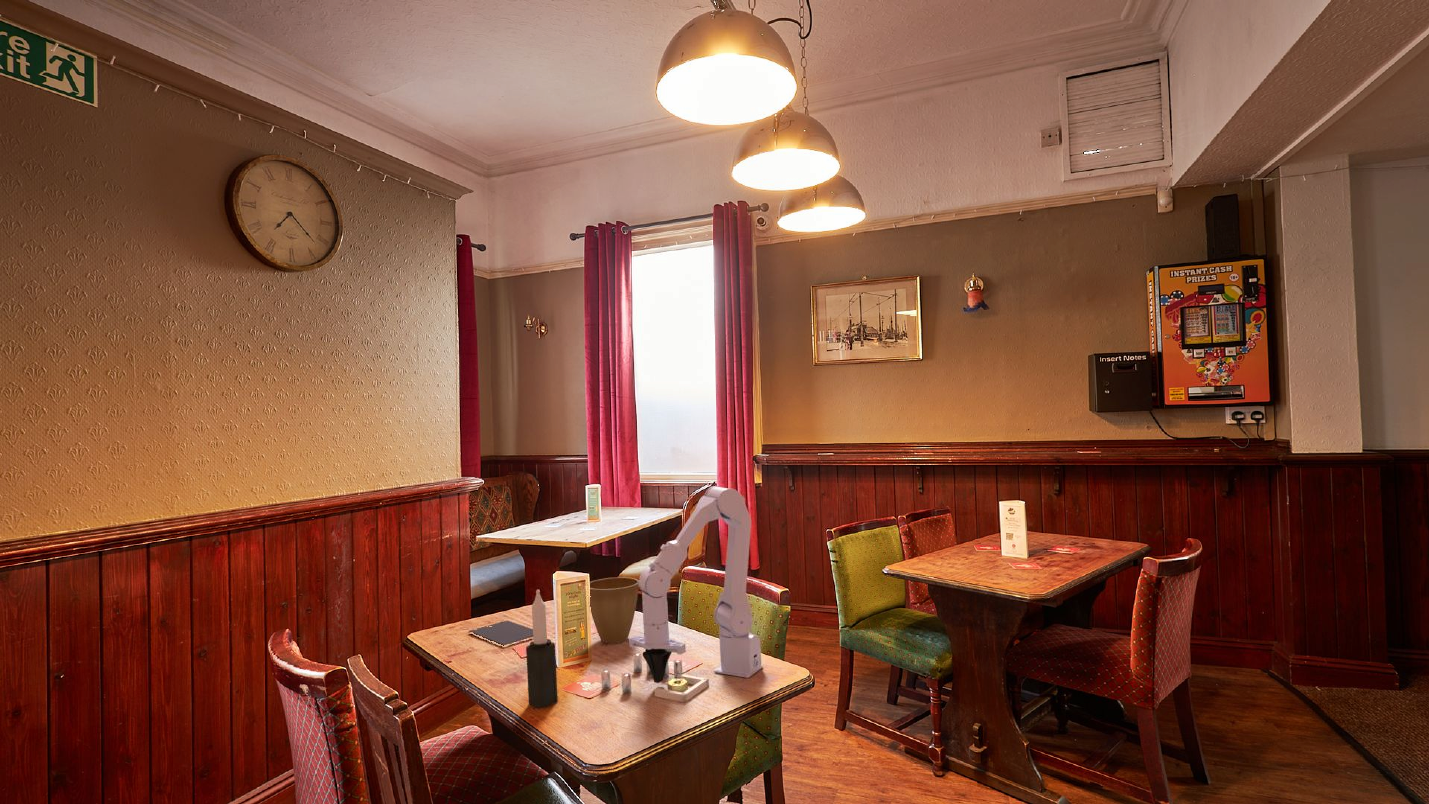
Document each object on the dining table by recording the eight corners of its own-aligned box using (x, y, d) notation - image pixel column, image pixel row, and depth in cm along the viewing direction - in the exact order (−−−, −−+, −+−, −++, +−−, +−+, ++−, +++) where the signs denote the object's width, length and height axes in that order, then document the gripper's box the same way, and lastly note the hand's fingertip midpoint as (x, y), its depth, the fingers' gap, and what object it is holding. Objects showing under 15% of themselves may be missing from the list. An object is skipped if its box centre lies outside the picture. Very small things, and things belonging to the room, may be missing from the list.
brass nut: (690, 688, 158) (690, 679, 158) (679, 696, 154) (679, 686, 154) (676, 686, 160) (675, 676, 160) (664, 693, 156) (664, 684, 156)
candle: (543, 709, 150) (537, 593, 151) (526, 705, 153) (521, 591, 153) (560, 700, 154) (554, 588, 155) (543, 696, 157) (538, 586, 158)
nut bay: (708, 685, 158) (708, 678, 158) (684, 702, 150) (684, 695, 150) (679, 680, 163) (679, 673, 163) (654, 696, 154) (654, 689, 154)
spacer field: (684, 677, 164) (683, 660, 164) (649, 699, 152) (648, 681, 152) (637, 668, 171) (636, 652, 172) (600, 689, 159) (599, 672, 160)
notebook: (468, 635, 208) (503, 650, 193) (468, 630, 208) (503, 644, 193) (507, 625, 217) (543, 638, 202) (507, 620, 217) (543, 632, 202)
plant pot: (638, 647, 188) (635, 588, 188) (583, 649, 188) (580, 590, 188) (644, 630, 203) (641, 575, 203) (593, 632, 203) (591, 577, 203)
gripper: (620, 623, 160) (623, 682, 160) (672, 630, 153) (675, 692, 152) (638, 614, 166) (641, 672, 166) (689, 621, 159) (692, 681, 158)
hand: (658, 681), depth 159 cm, fingers closed
